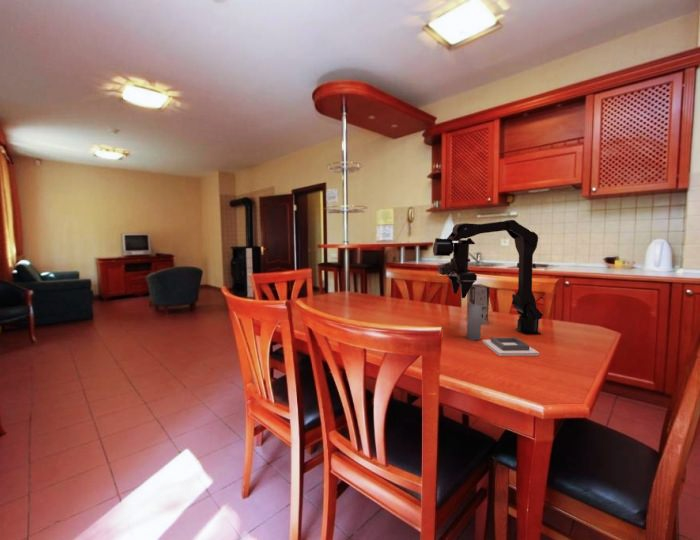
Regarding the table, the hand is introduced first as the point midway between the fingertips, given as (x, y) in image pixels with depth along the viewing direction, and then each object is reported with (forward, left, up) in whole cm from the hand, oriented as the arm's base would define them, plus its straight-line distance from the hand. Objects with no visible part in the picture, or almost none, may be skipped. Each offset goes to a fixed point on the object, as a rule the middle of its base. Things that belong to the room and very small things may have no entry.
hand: (459, 295), depth 129 cm
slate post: (-3, +8, -15) cm, 17 cm away
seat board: (-11, +19, -15) cm, 26 cm away
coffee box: (-14, -16, -15) cm, 26 cm away
